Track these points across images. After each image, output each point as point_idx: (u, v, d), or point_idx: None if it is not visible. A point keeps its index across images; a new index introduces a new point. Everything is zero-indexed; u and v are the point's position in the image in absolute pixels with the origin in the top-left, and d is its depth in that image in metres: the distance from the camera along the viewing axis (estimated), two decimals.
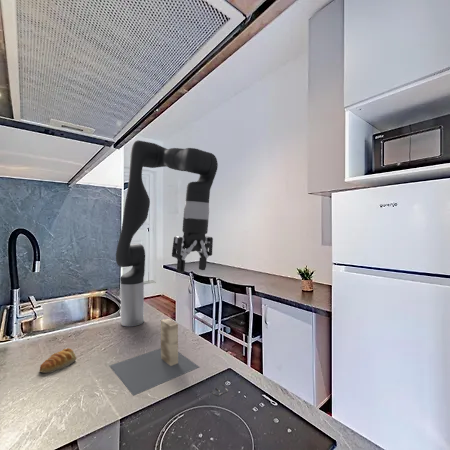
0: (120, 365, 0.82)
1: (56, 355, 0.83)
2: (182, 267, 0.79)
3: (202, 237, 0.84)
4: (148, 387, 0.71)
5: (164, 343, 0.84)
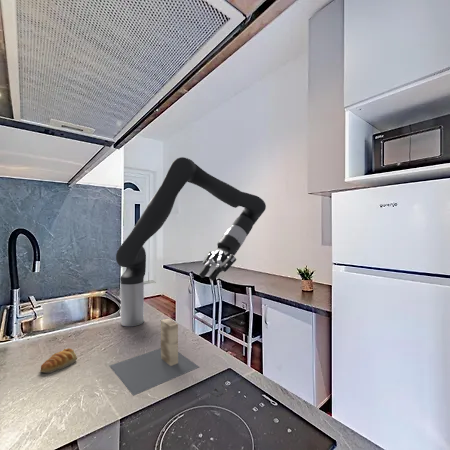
0: (120, 365, 0.82)
1: (57, 355, 0.83)
2: (215, 277, 0.92)
3: None
4: (148, 387, 0.71)
5: (164, 343, 0.84)
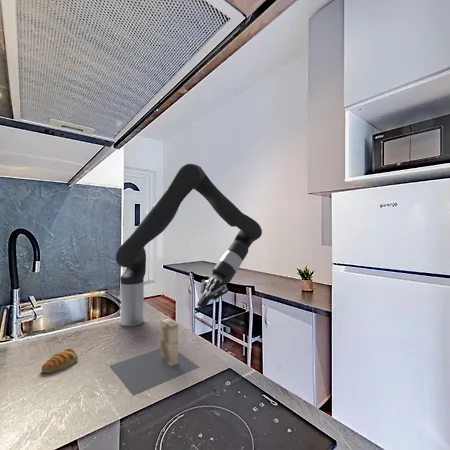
0: (120, 365, 0.82)
1: (58, 355, 0.83)
2: (205, 305, 0.93)
3: None
4: (148, 387, 0.71)
5: (164, 343, 0.84)
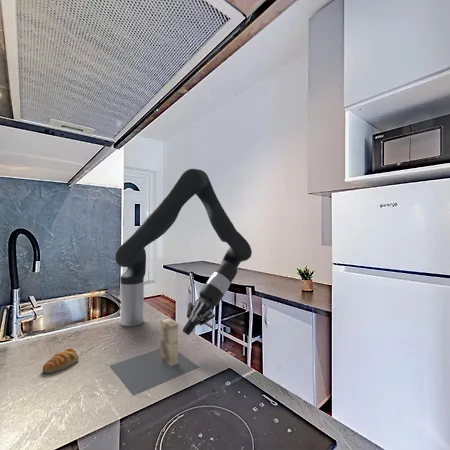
0: (120, 365, 0.82)
1: (59, 355, 0.83)
2: None
3: None
4: (148, 387, 0.71)
5: (164, 343, 0.84)
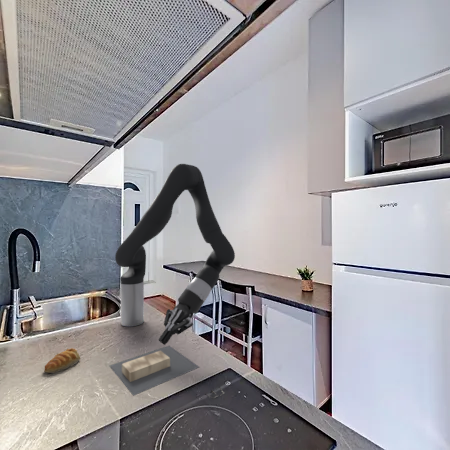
0: (120, 365, 0.82)
1: (60, 355, 0.82)
2: None
3: None
4: (148, 387, 0.71)
5: None
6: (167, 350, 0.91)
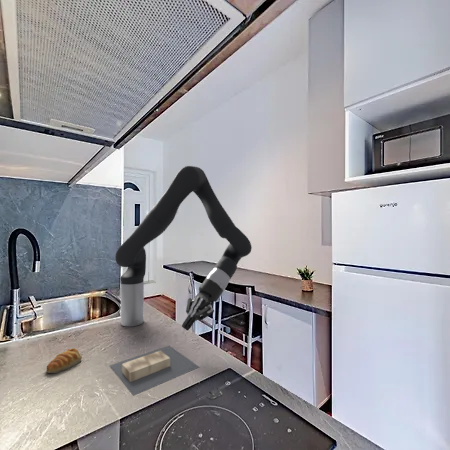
0: (120, 365, 0.82)
1: (62, 355, 0.82)
2: (190, 326, 0.89)
3: None
4: (148, 387, 0.71)
5: None
6: (167, 350, 0.91)
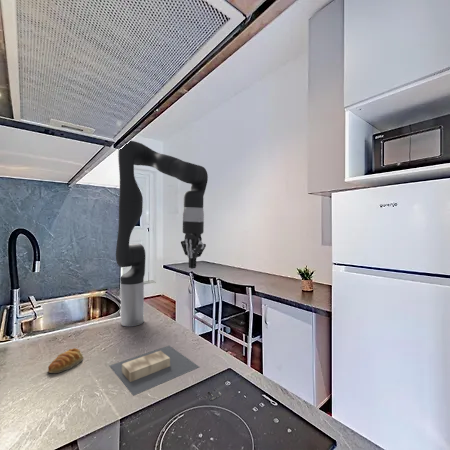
0: (120, 365, 0.82)
1: (63, 355, 0.82)
2: (195, 263, 1.00)
3: None
4: (148, 387, 0.71)
5: None
6: (167, 350, 0.91)
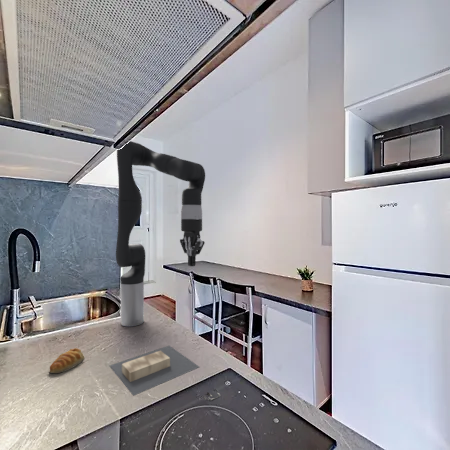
0: (120, 365, 0.82)
1: (65, 355, 0.82)
2: (194, 261, 1.00)
3: None
4: (148, 387, 0.71)
5: None
6: (167, 350, 0.91)
